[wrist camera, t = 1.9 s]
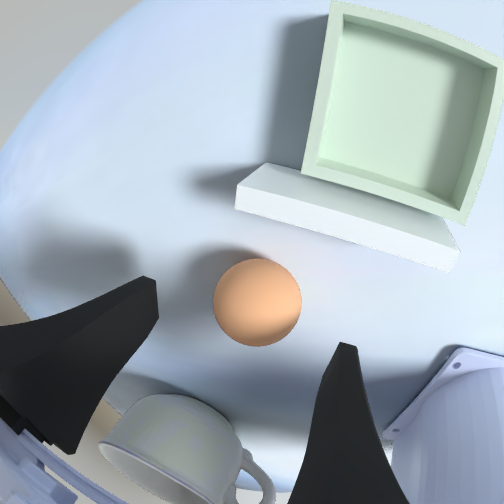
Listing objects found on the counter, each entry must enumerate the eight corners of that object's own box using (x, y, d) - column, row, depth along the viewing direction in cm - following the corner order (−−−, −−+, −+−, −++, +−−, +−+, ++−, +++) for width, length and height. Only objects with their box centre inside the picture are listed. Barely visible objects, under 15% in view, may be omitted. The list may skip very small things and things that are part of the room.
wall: (433, 232, 11) (449, 273, 8) (263, 181, 12) (234, 208, 10) (440, 213, 10) (460, 251, 8) (266, 162, 12) (237, 184, 9)
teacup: (150, 415, 28) (112, 472, 21) (135, 354, 22) (75, 429, 15) (278, 466, 25) (251, 534, 18) (309, 422, 19) (276, 523, 13)
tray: (452, 207, 10) (464, 225, 8) (309, 162, 11) (300, 173, 10) (489, 65, 7) (509, 62, 5) (335, 13, 8) (331, 0, 7)
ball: (298, 318, 15) (279, 375, 12) (229, 296, 15) (197, 345, 13) (317, 257, 13) (300, 311, 10) (236, 233, 14) (198, 278, 11)
